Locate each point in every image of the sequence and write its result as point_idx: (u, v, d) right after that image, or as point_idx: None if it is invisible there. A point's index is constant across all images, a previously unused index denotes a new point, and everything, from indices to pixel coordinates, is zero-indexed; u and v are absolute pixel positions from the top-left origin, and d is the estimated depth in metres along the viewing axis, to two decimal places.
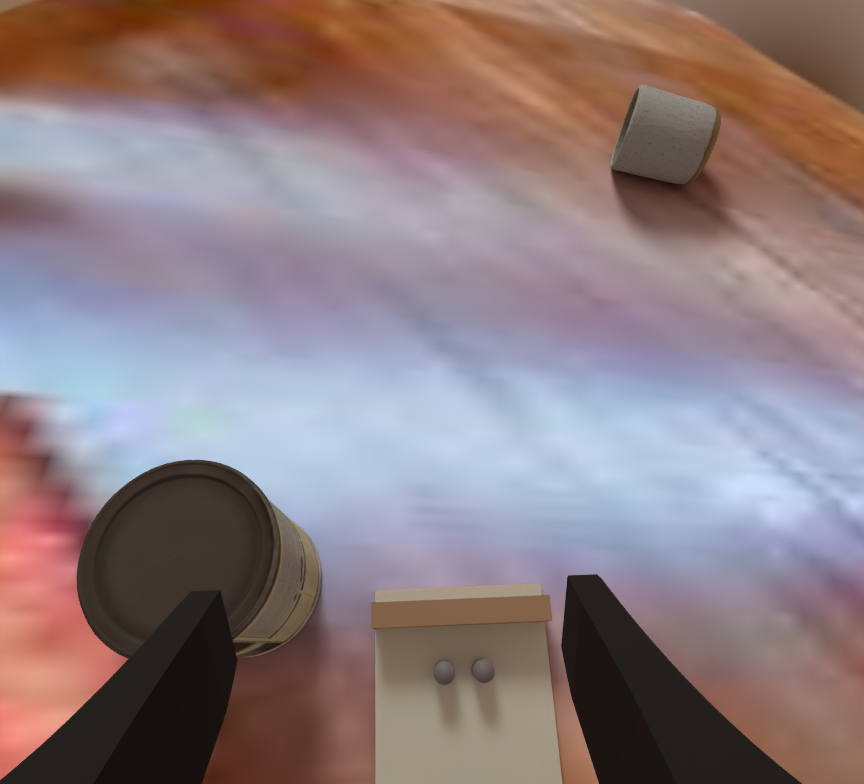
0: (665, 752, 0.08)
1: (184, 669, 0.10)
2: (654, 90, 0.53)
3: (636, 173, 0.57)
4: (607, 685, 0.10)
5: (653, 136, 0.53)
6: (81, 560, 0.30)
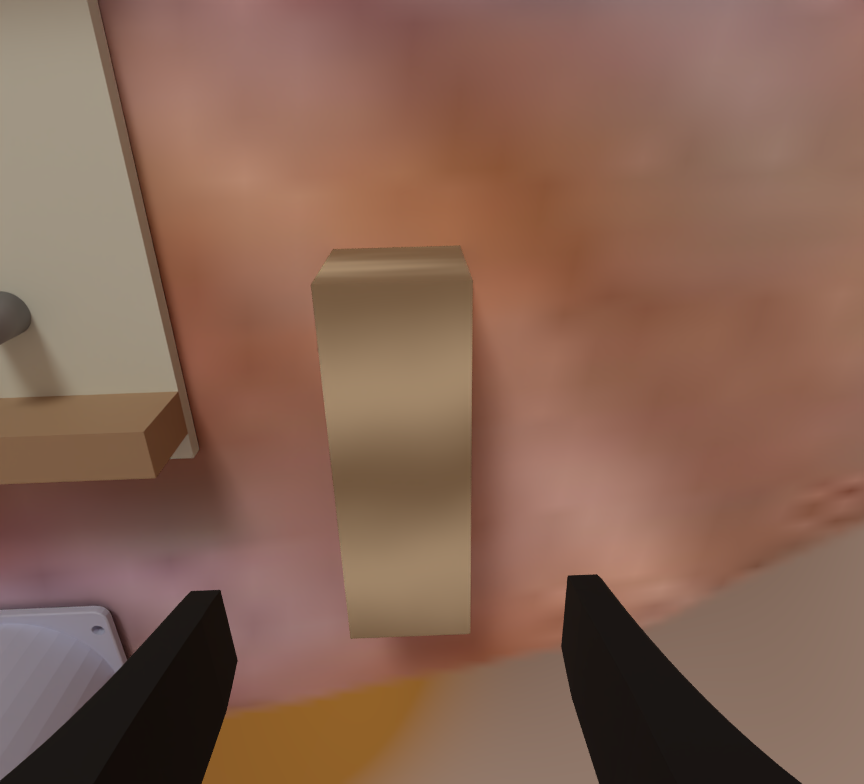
0: (665, 752, 0.08)
1: (184, 669, 0.10)
2: None
3: None
4: (607, 685, 0.10)
5: None
6: None
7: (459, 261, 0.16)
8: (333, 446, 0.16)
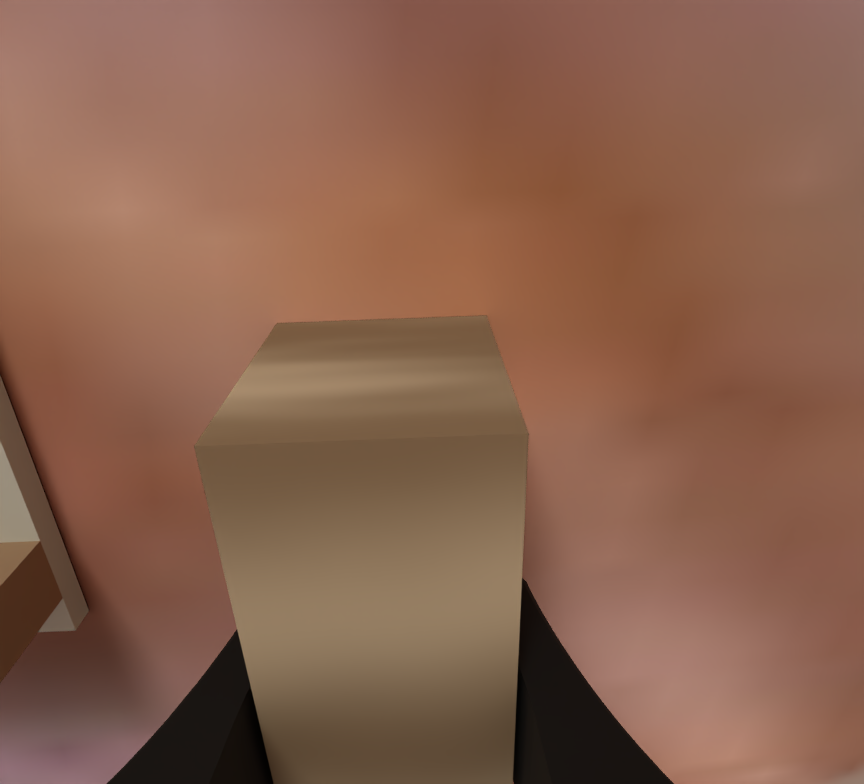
0: (549, 757, 0.08)
1: None
2: None
3: None
4: None
5: None
6: None
7: (492, 366, 0.09)
8: (263, 706, 0.09)
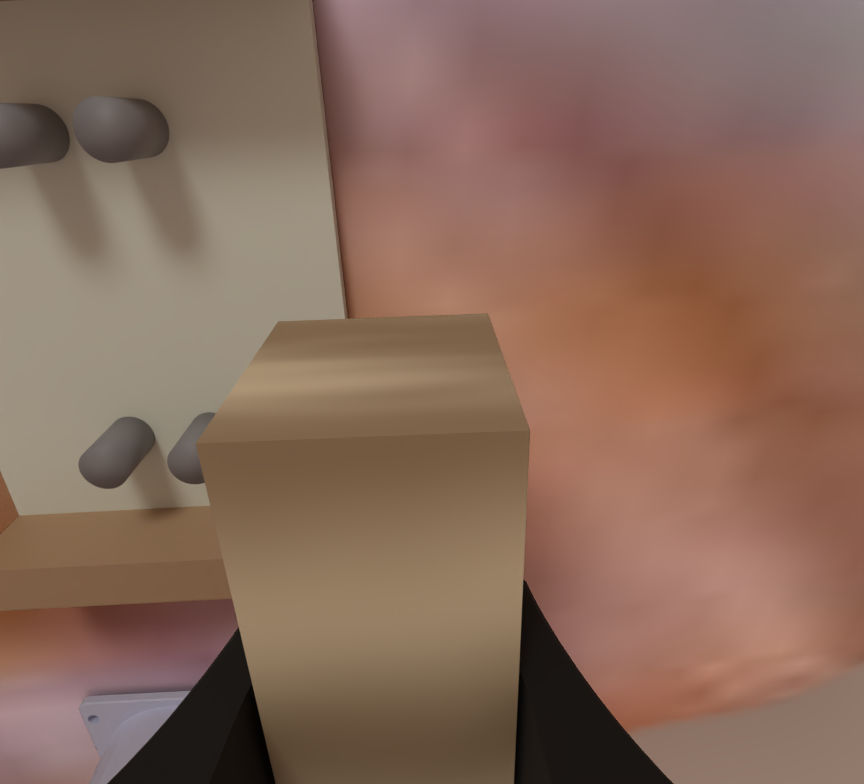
0: (549, 757, 0.08)
1: None
2: None
3: None
4: None
5: None
6: None
7: (494, 363, 0.09)
8: (265, 704, 0.09)
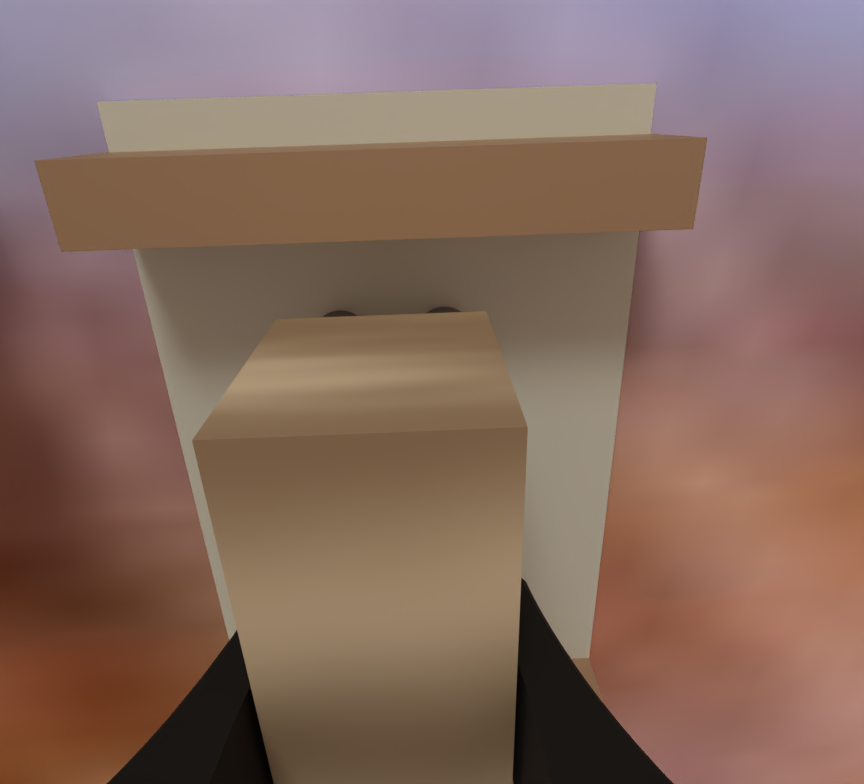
0: (549, 757, 0.08)
1: None
2: None
3: None
4: None
5: None
6: None
7: (492, 360, 0.09)
8: (262, 702, 0.09)
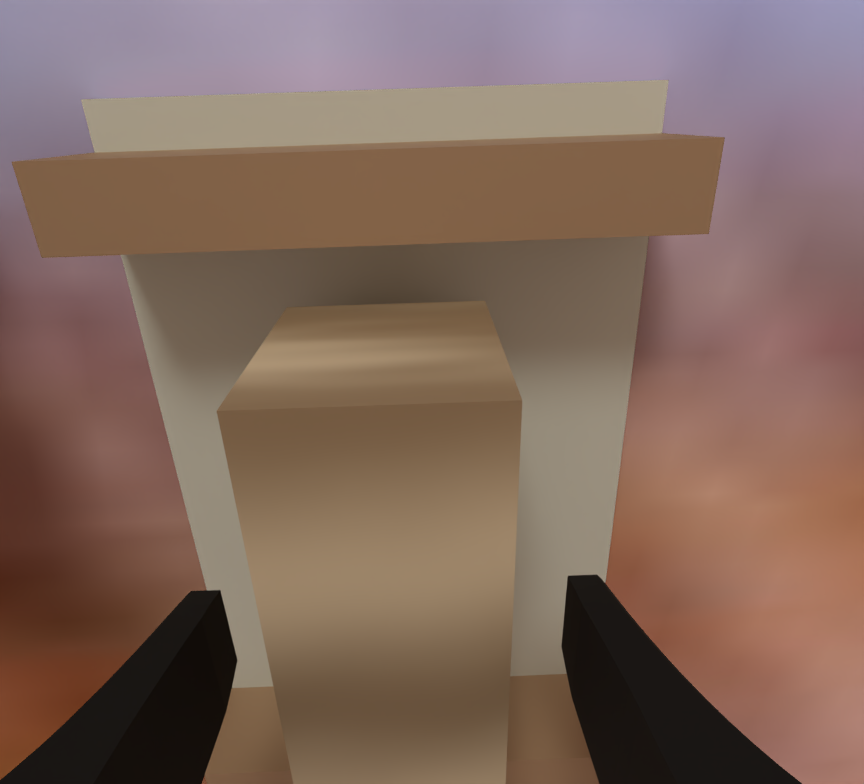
0: (665, 752, 0.08)
1: (184, 668, 0.10)
2: None
3: None
4: (607, 685, 0.10)
5: None
6: None
7: (490, 344, 0.10)
8: (275, 660, 0.10)
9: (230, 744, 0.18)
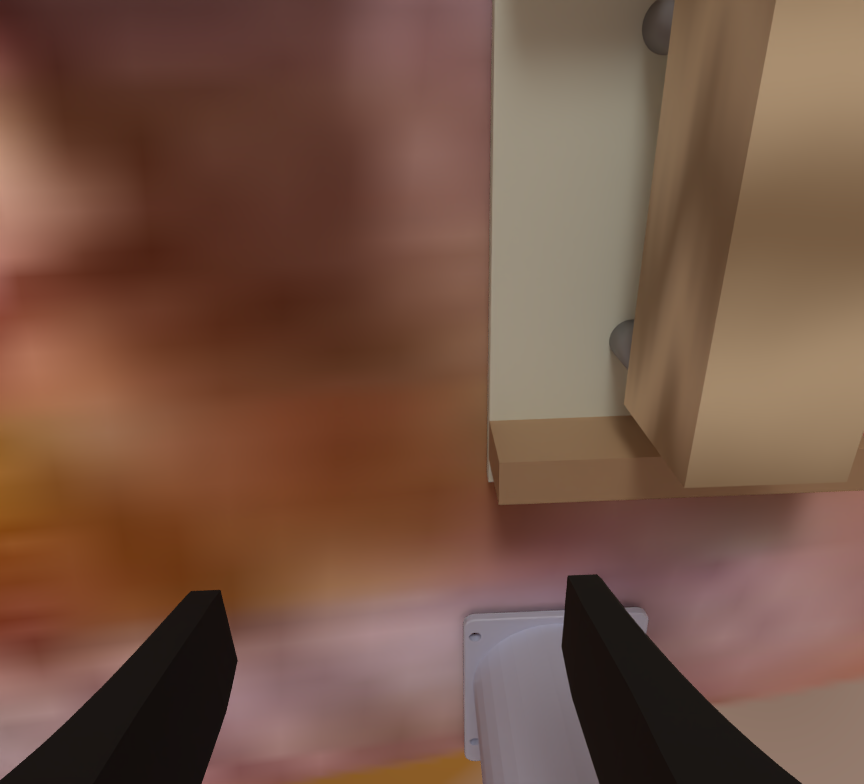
0: (665, 752, 0.08)
1: (184, 669, 0.10)
2: None
3: None
4: (607, 685, 0.10)
5: None
6: None
7: None
8: (751, 164, 0.11)
9: (511, 448, 0.19)
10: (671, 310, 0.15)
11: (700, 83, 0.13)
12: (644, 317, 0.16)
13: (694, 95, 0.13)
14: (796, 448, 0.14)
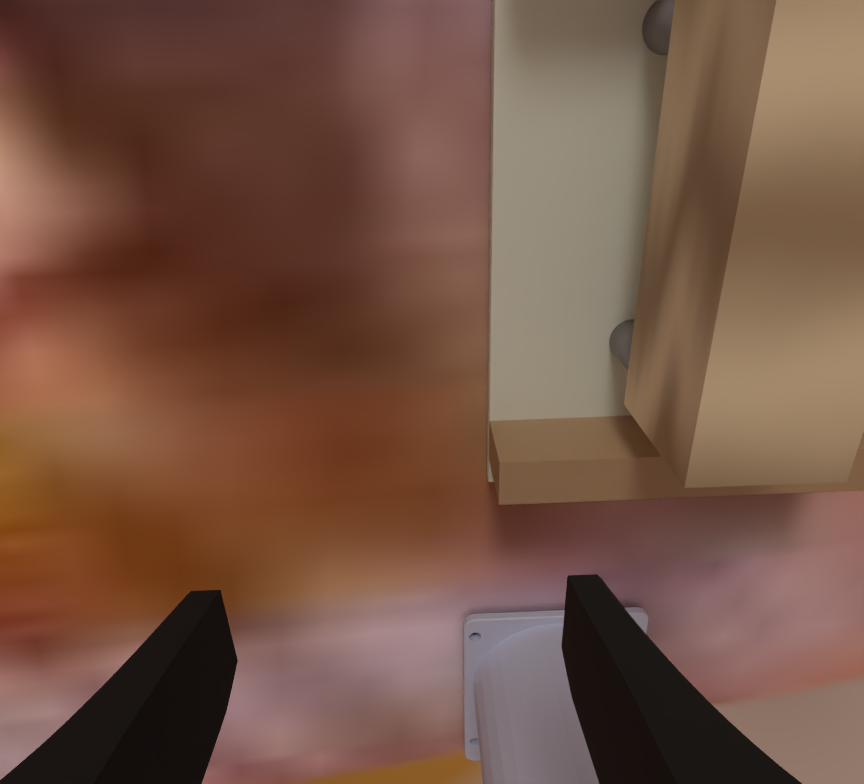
0: (665, 752, 0.08)
1: (184, 669, 0.10)
2: None
3: None
4: (607, 685, 0.10)
5: None
6: None
7: None
8: (751, 164, 0.11)
9: (511, 448, 0.19)
10: (671, 310, 0.15)
11: (700, 83, 0.13)
12: (644, 317, 0.16)
13: (694, 95, 0.13)
14: (796, 448, 0.14)
